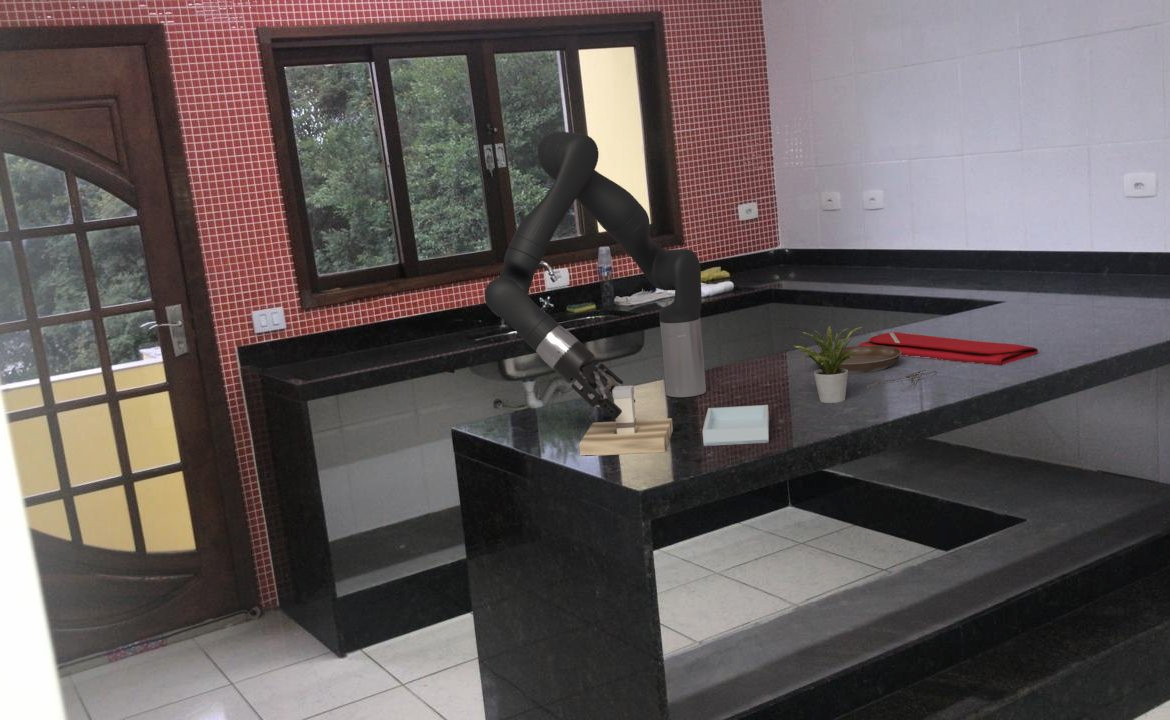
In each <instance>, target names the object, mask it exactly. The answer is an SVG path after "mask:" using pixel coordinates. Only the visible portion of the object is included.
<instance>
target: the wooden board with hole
mask: <svg viewBox="0 0 1170 720" xmlns="http://www.w3.org/2000/svg"><path fill="white" fill-rule="evenodd" d="M636 426H637V433H626V434H617V428H616V420H615V421H602V422H601V421H599V422H592V424H591V425H590V427H589V429H588V430H587V431H586V432H585V434H584V436H583V437H582V439H581V440H580V442H579V443H578V444H579V454H580V456H581V455H597V456H611V455H612V456H613V455H614V456H615V455H636V454H637V455H638V454H654V453H655V454H657V453H658V454H659V453H666V450H667V448H668V444H669V442H670V440H671V436H672V433H673V431H674V428H673V418H671V417H670V418H657V419H654V418H652V419H636Z"/></svg>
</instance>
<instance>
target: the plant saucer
mask: <svg viewBox="0 0 1170 720" xmlns="http://www.w3.org/2000/svg"><path fill="white" fill-rule="evenodd" d="M844 347H845V346H844ZM844 347H843V348H844ZM839 349H840V347H839ZM842 350H843V349H842ZM838 351H839V350H838ZM833 352H834V348H833ZM845 352H855V353H856V354H857V355H856V354H855V353H850V354H848V355H847V356H848V357H850V356H852V357H854V358H850V359H848V360H846V361H844V362H843V363H842V364H841V366H840V368H842V369H847V370H848V374H860V373H859V372H864V373H870V372H869V371H873V372H877V371H876V370H878V371H882V370H881V369H883V370H886V369H888V367H889V368H890V367H892V366H893V365H894V364H895V363H896V362H897V361H898V360H899V358H900V357H901V356H900V355H901V351H900V350H899V349H897V348H893V347H886V346H859V345H855V346H846V347H845V348H844V350H843V352H842V354H843V353H845ZM818 354H819V355H820V356H821V357H824V356H822V355H823V354H822V353H820V352H819V353H818ZM821 354H822V355H821ZM842 354H841V355H842ZM840 357H841V356H840ZM825 361H826V360H825ZM885 368H886V369H885Z"/></svg>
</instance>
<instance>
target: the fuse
mask: <svg viewBox="0 0 1170 720" xmlns="http://www.w3.org/2000/svg"><path fill="white" fill-rule="evenodd" d="M634 389H635V388H634V385H622V386H615V387H614V389H613V390H612V392H613V395H612V399H613V402H614V403H615V404H616V405H617V406H618V407H619V408H620V409H621V410H622V413H621V414H620V415H619V416H618V417H617V418H616V419H615V421H616V428H617V434H626V433H637V426H636V420H637V416H636V407H635V406H636V405H635V403H634V399H635V396H634V395H635V390H634Z"/></svg>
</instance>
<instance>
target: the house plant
mask: <svg viewBox="0 0 1170 720" xmlns="http://www.w3.org/2000/svg"><path fill="white" fill-rule="evenodd" d="M862 328H863V326H861V327H856V328H854V329H852V330H850V331H849V332H848V333H847V334H846V335H845V337H844V338H843V339H841V340H839V338H840V336H841V334H842V333H843V332H844V331H846V330H849V328H848V327H847V328H845V329H843V330H841V331H840V333H839V332H837V333H835V336H834V337H835V338H834V344H833V337H832V336H833V333H832V332H833V331H832V329H831V326H830V325H827V332H826V340H825V338H824V337H823V336H822V335H821V334H820V333H819V331H817V330H815V329H814V328H812V330H813V331H814V332H815V333H816V334H817V335H818V336H819V337H820V339H819V338H818V337H817V336H816V335H814V334H812V333H808V332H804V331H803V332H802V331H801V333H802V334H806V335H808V336H809V337H810V338H811V339H812V340H814V342H815V343H816V345H817V346H818V348H819V350H818V352H819V353H822V354H823V355H822V354H821V355H822V356H824V357H821V356H820V355H819V354H818V353H817V352H816V351H814V349H813V350H812V349H810V348H808V347H805V346H801V345H793V347H794V348H797V349H799V350H800V351H801V352H803V353H806V354H807V355H805V356H802V357H800V358H799V359H798V361H800V360H802V359H805V358H806V359H807V358H811V359H812V360H813V361H814V362H815V363H816V365H817V366H819V367H820V368H821V369H817V370H814V372H813V377H814V379H815V384H816V389H817V394H818V397H819V402H821V403H825V404H833V403H834V404H837V403H842V402H845V400H846V393H847V385H848V384H847V383H848V376H849V375H848V374H849V373H848V370H847V369H842V368H840V366H841V364H842V363H843V362H844V361H846V360H848V359H850V358H854V357H852V356H850V357H848V356H847V355H848V354H850V353H855V352H845V353H843V354H842V352H843V350H844V348H845V347H847V345H848V344H849V343H850V342H851V340H852V339H853V338H854V336H852V335H853V334H854V333H855V331H857V330H860V329H862ZM808 336H806V337H807V338H808ZM851 336H852V337H851ZM806 337H805V340H807V342H810V343H811V341H810V340H809V339H807V338H806ZM850 337H851V338H850ZM801 338H802V339H804V337H802V336H801ZM848 339H849V340H848ZM838 340H839V341H838ZM847 341H848V342H847ZM846 342H847V343H846ZM816 345H814V344H813V346H814V347H815V348H816V349H818V348H817V347H816ZM843 347H844V348H843ZM839 348H840V349H839ZM833 349H834V352H833ZM842 349H843V350H842ZM838 350H839V351H838ZM841 354H842V355H841ZM855 354H856V353H855ZM856 355H857V354H856ZM840 356H841V357H840ZM825 360H826V361H825Z"/></svg>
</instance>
